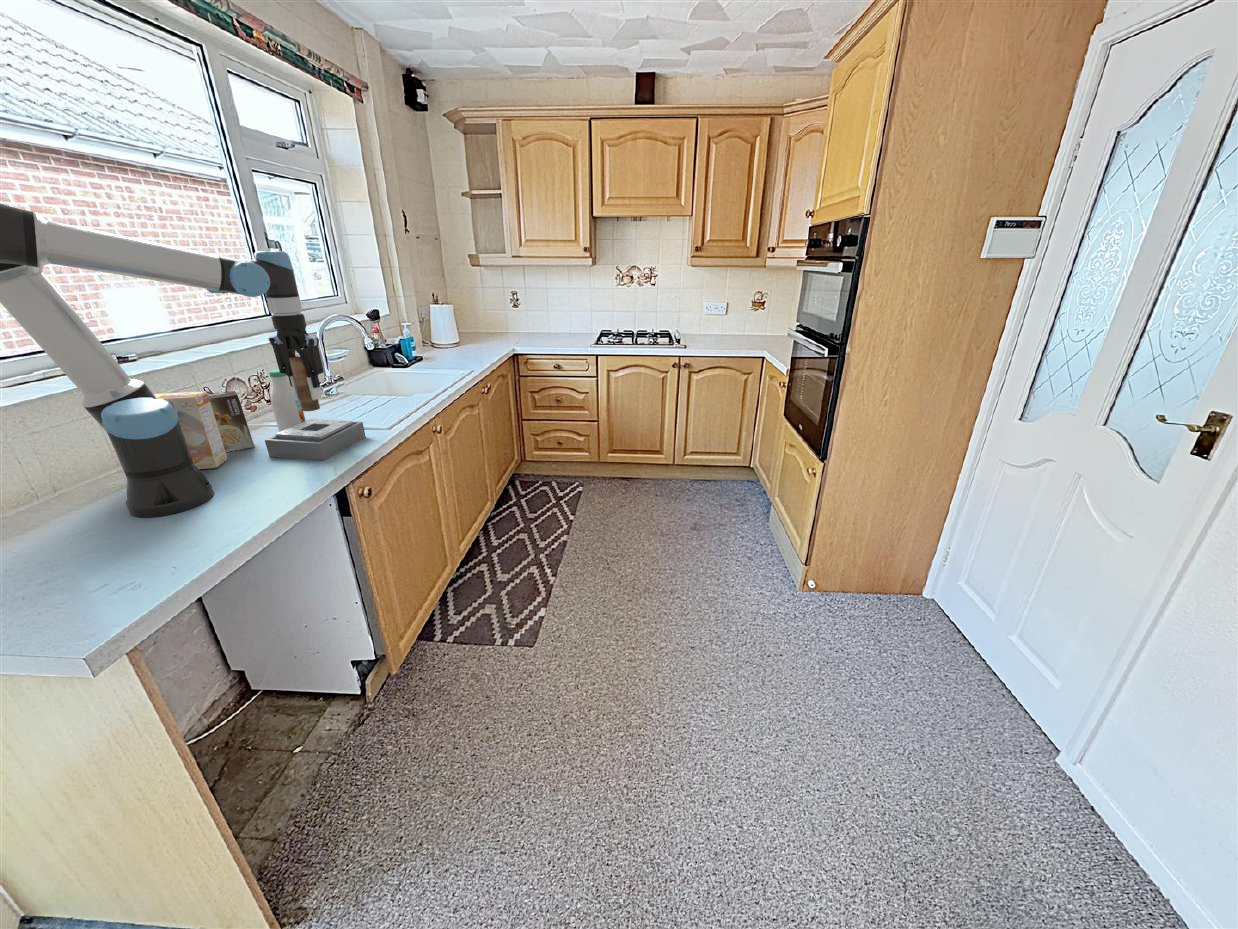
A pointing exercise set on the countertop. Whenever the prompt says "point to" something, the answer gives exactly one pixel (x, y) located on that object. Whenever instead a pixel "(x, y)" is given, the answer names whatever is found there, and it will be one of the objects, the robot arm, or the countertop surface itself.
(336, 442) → the grey socket base
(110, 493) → the countertop surface
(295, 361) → the peg
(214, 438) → the coffeecake box
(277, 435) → the bore block
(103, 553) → the countertop surface
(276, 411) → the milk bottle
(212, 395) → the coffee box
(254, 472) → the countertop surface
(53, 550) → the countertop surface
